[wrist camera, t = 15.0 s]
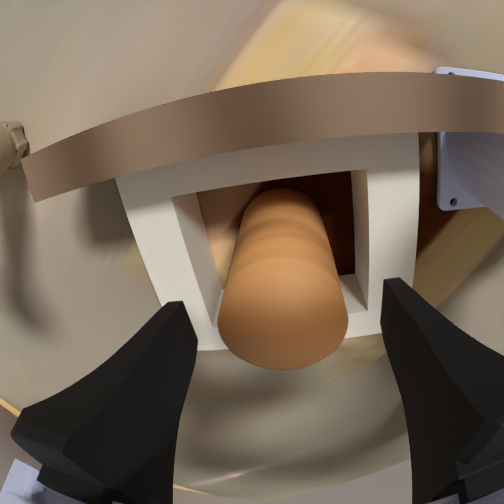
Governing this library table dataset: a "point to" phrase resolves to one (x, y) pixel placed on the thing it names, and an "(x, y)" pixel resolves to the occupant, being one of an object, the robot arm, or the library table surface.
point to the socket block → (271, 168)
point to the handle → (11, 145)
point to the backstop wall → (267, 122)
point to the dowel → (282, 285)
